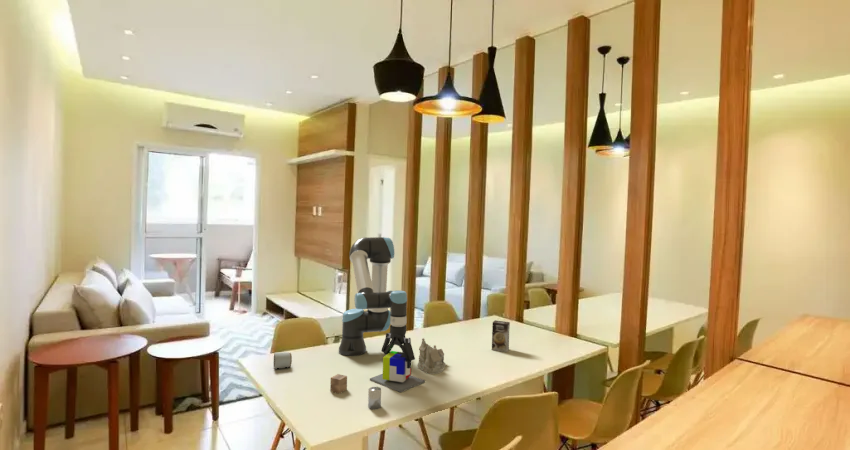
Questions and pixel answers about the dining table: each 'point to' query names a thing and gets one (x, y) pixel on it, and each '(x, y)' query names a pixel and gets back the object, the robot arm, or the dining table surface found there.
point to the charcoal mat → (398, 383)
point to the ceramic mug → (282, 360)
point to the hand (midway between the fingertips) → (397, 371)
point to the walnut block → (338, 383)
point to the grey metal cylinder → (374, 398)
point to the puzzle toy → (394, 367)
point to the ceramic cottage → (430, 359)
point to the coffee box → (500, 336)
